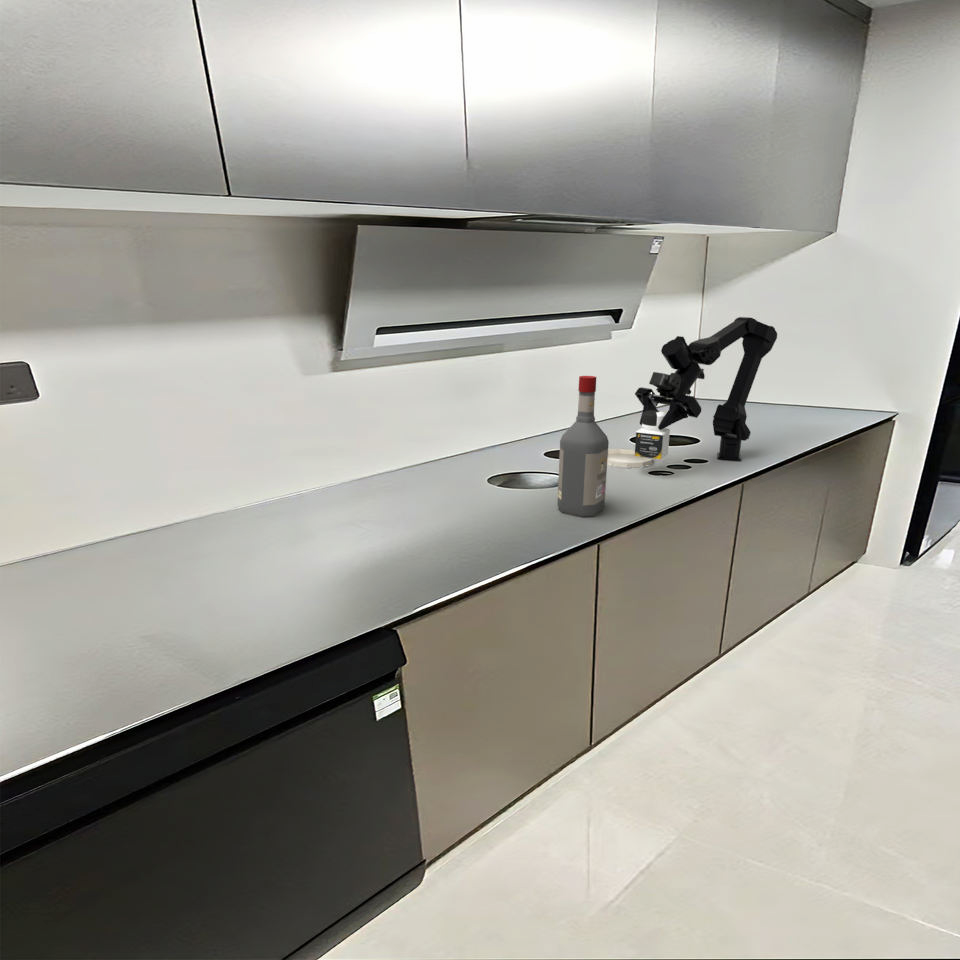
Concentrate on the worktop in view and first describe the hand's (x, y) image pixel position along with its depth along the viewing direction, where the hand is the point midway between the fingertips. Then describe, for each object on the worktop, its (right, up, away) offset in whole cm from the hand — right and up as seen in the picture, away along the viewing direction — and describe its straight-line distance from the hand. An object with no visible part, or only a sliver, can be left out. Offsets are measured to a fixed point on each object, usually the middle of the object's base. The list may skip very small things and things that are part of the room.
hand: (649, 426), depth 173 cm
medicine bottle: (+1, -8, +3) cm, 8 cm away
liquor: (-22, -21, -23) cm, 38 cm away
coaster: (-3, -8, +18) cm, 20 cm away
